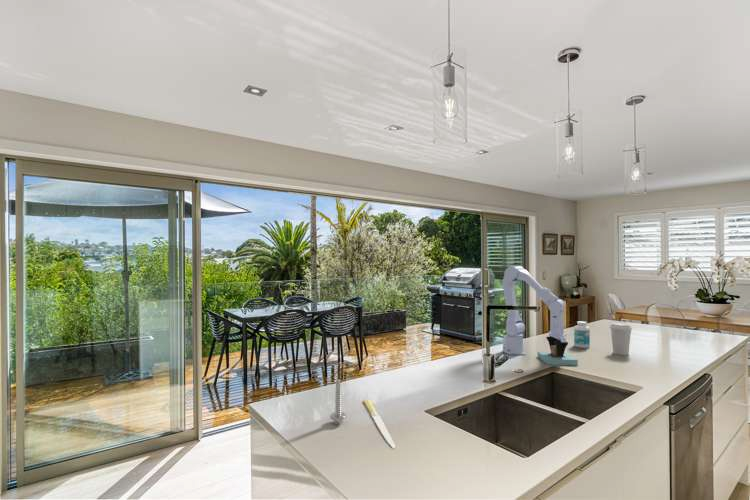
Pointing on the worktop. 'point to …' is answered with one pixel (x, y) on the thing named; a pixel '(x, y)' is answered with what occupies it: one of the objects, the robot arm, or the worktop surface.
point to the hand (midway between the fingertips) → (556, 354)
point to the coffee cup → (621, 338)
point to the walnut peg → (554, 351)
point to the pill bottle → (582, 335)
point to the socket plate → (557, 359)
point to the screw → (338, 406)
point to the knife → (379, 422)
